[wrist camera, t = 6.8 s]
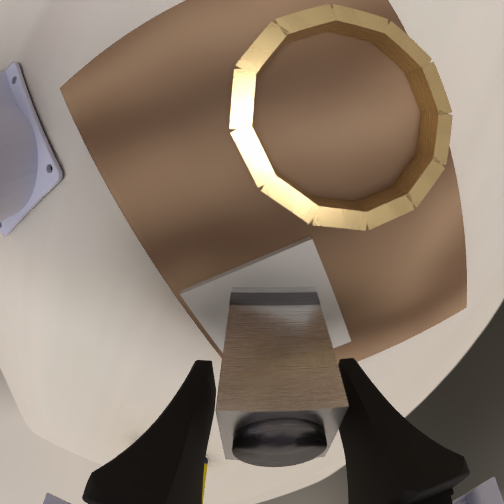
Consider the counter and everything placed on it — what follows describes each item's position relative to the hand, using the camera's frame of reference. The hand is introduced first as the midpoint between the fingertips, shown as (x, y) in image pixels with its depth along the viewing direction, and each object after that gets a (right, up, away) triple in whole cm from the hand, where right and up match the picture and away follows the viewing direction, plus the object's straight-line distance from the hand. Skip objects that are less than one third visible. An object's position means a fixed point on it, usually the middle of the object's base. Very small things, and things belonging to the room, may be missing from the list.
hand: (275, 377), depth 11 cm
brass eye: (+3, +11, -1) cm, 11 cm away
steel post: (0, +2, +3) cm, 4 cm away
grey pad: (0, +2, +4) cm, 4 cm away
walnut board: (+1, +8, +2) cm, 9 cm away
